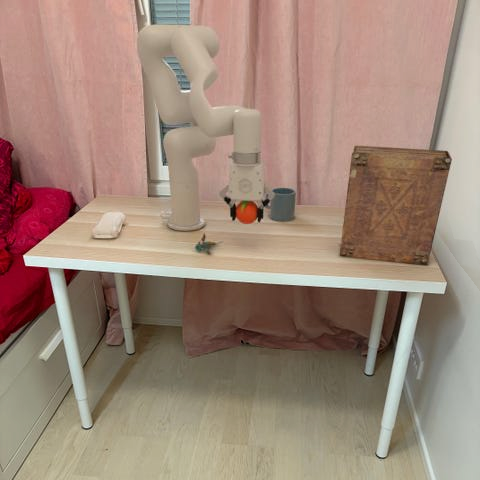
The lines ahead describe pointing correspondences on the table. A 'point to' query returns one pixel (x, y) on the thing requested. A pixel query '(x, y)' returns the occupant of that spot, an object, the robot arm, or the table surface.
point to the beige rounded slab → (109, 225)
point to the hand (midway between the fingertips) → (246, 219)
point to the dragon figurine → (205, 245)
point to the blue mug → (282, 204)
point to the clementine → (246, 212)
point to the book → (393, 203)
